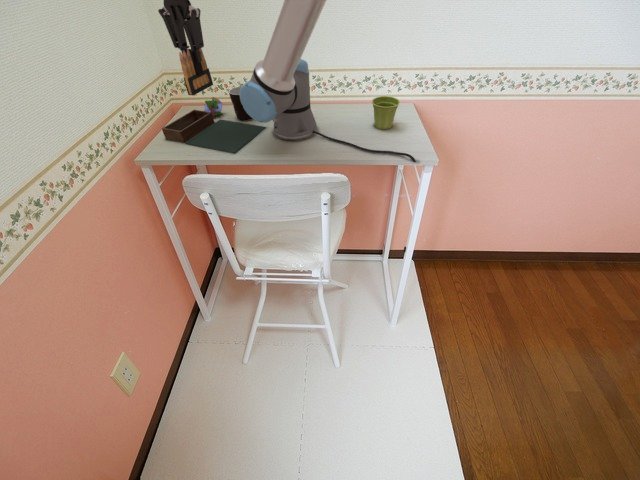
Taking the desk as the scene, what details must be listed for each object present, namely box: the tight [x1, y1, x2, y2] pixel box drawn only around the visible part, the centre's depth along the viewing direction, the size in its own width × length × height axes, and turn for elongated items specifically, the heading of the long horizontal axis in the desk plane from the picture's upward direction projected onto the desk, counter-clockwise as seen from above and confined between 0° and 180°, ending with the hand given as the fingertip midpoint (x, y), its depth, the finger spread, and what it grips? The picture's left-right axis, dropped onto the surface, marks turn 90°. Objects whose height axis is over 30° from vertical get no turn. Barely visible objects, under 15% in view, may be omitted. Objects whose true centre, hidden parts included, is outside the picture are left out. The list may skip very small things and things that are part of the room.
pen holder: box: [161, 109, 215, 144], centre depth 119 cm, size 8×17×4 cm, turn 157°
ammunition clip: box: [178, 48, 214, 96], centre depth 103 cm, size 11×2×12 cm, turn 157°
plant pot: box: [371, 95, 401, 130], centre depth 114 cm, size 9×9×9 cm
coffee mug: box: [228, 85, 254, 122], centre depth 125 cm, size 12×9×10 cm
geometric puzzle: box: [203, 96, 224, 119], centre depth 127 cm, size 7×7×8 cm
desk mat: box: [185, 119, 266, 155], centre depth 116 cm, size 20×20×1 cm
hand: (196, 73), depth 104 cm, fingers closed on ammunition clip, 2 cm apart
